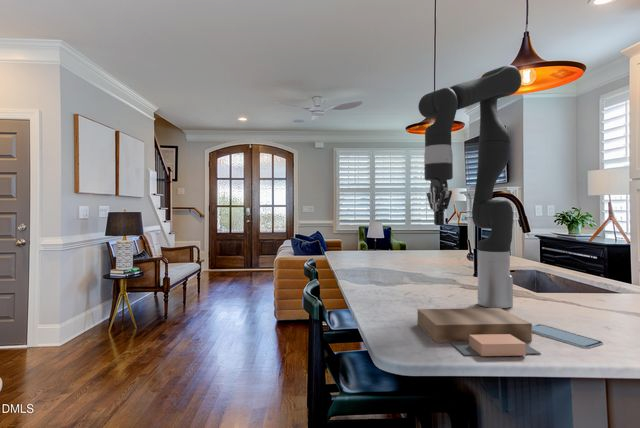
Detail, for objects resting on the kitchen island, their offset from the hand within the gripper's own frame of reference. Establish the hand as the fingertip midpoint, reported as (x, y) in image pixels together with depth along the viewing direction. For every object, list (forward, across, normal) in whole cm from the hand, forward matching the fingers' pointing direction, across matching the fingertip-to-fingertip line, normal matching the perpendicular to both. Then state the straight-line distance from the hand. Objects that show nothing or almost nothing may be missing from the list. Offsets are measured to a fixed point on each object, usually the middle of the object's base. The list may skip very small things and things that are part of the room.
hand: (439, 225), depth 106 cm
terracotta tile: (+23, -27, -2) cm, 35 cm away
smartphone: (+27, -18, -22) cm, 39 cm away
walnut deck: (+26, -14, -2) cm, 29 cm away
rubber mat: (+26, -25, -2) cm, 36 cm away
